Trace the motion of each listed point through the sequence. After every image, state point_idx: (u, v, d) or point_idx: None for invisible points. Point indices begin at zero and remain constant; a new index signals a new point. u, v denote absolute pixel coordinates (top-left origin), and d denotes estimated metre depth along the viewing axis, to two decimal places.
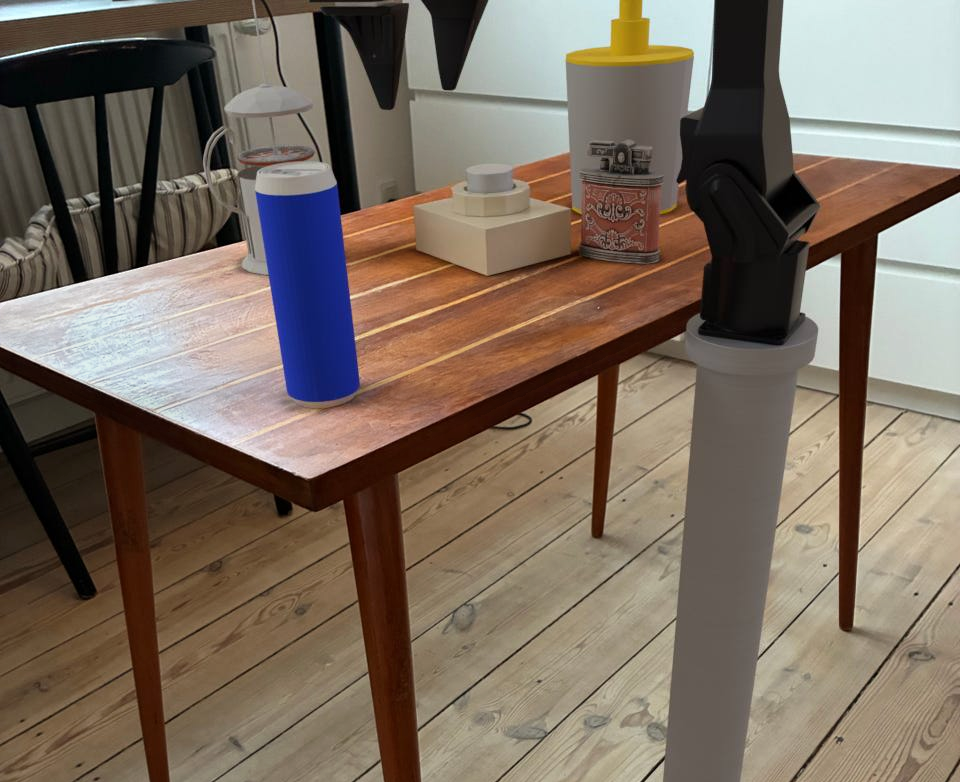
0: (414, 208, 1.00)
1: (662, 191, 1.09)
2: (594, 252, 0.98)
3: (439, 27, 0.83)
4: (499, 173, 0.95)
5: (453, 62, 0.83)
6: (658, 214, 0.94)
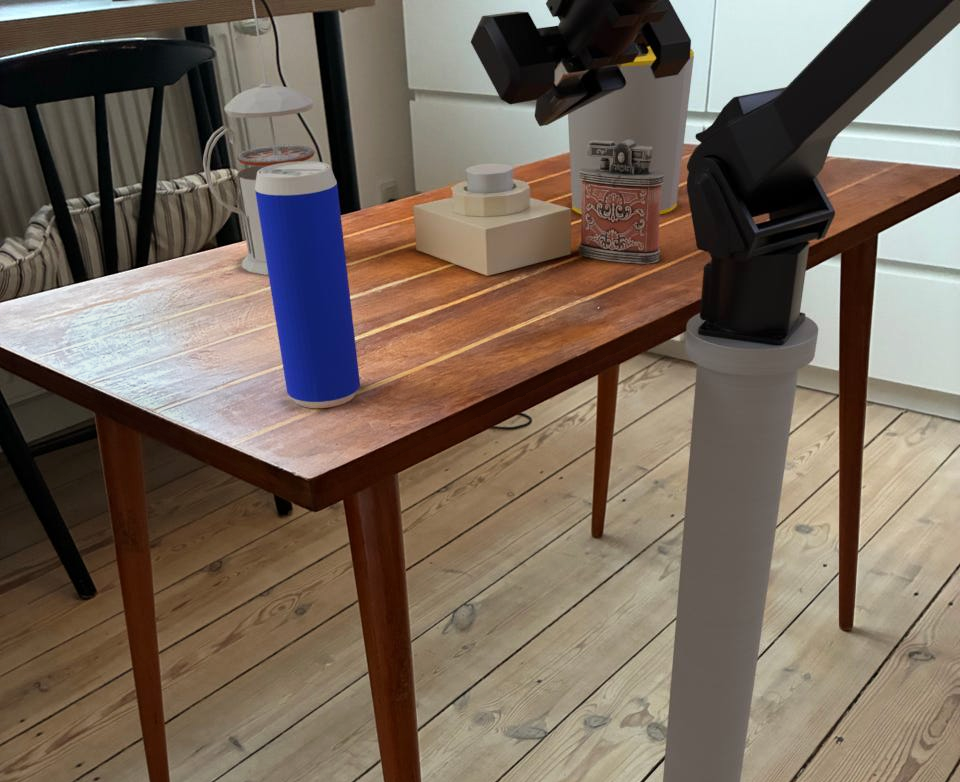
0: (414, 208, 1.00)
1: (662, 191, 1.09)
2: (594, 252, 0.98)
3: None
4: (499, 173, 0.95)
5: None
6: (658, 214, 0.94)
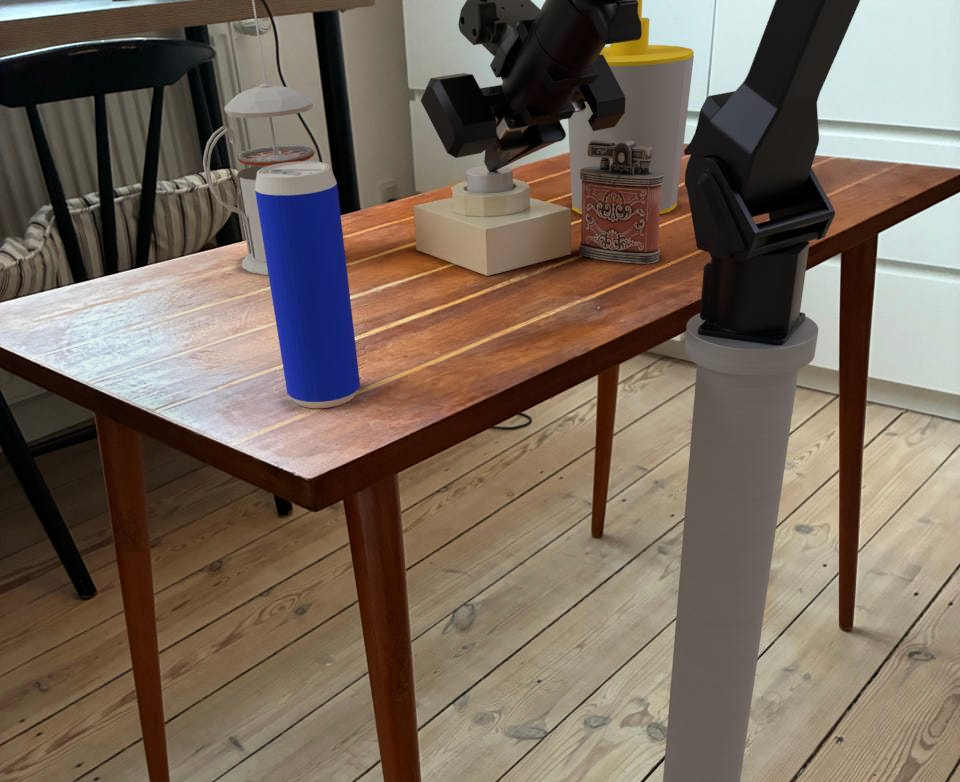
0: (414, 208, 1.00)
1: (662, 191, 1.09)
2: (594, 252, 0.98)
3: None
4: (499, 175, 0.95)
5: None
6: (658, 214, 0.94)
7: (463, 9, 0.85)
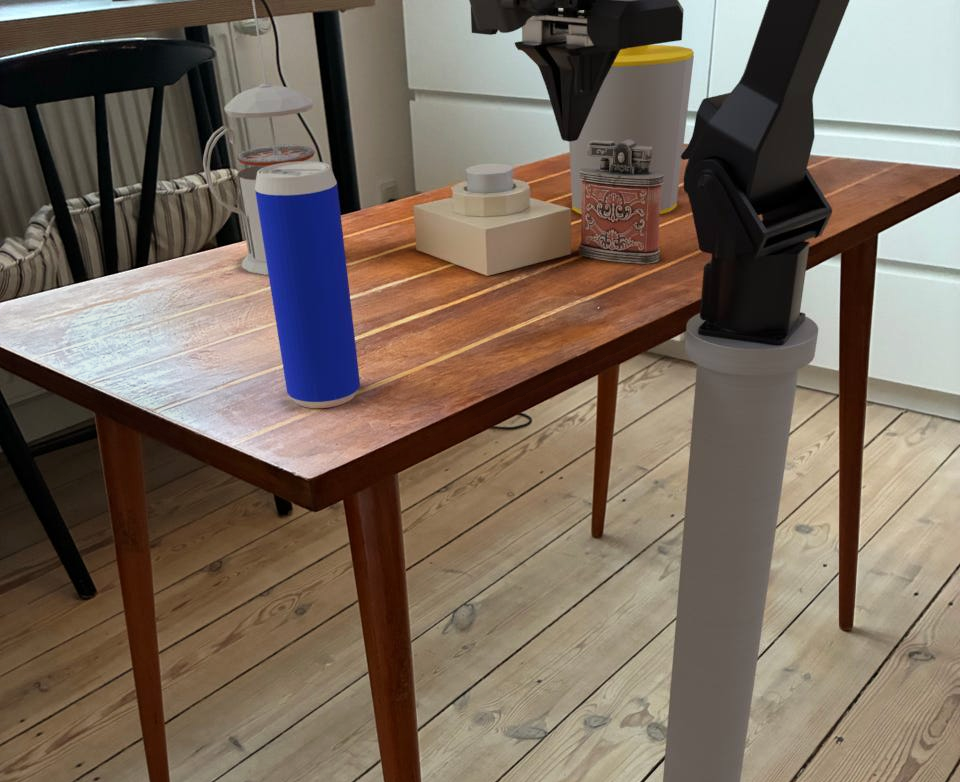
0: (414, 208, 1.00)
1: (662, 191, 1.09)
2: (594, 252, 0.98)
3: (560, 79, 0.81)
4: (499, 173, 0.95)
5: None
6: (658, 214, 0.94)
7: None
